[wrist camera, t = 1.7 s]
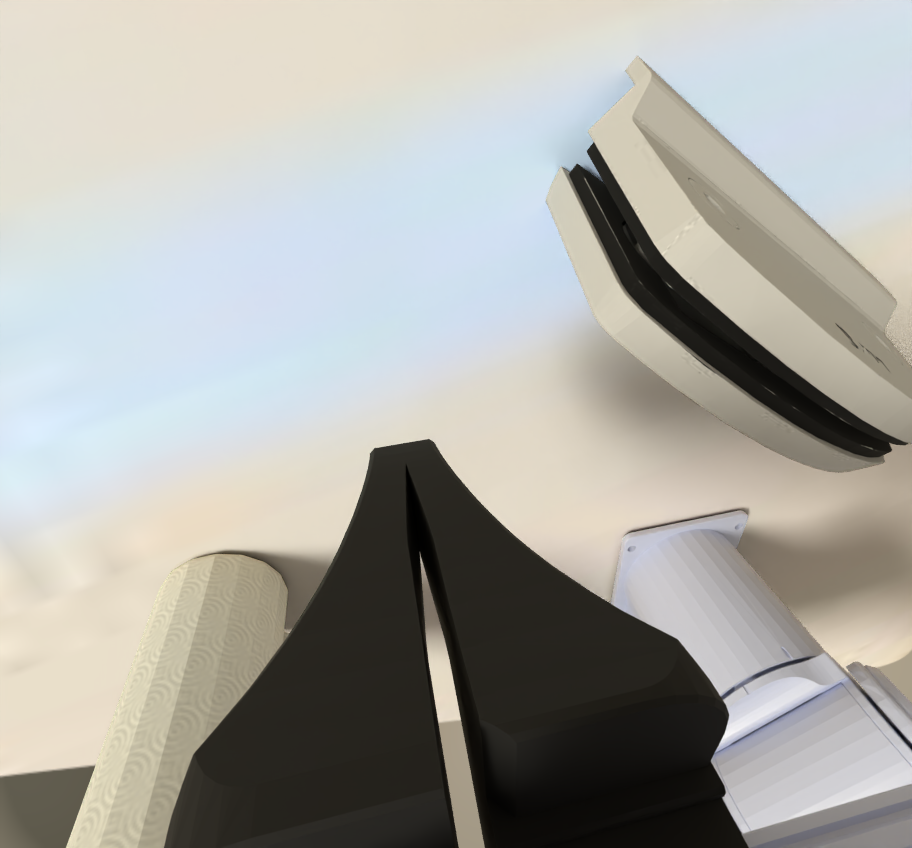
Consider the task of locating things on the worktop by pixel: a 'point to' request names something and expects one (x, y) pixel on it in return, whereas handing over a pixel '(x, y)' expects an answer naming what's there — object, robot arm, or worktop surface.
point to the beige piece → (731, 286)
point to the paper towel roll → (180, 693)
